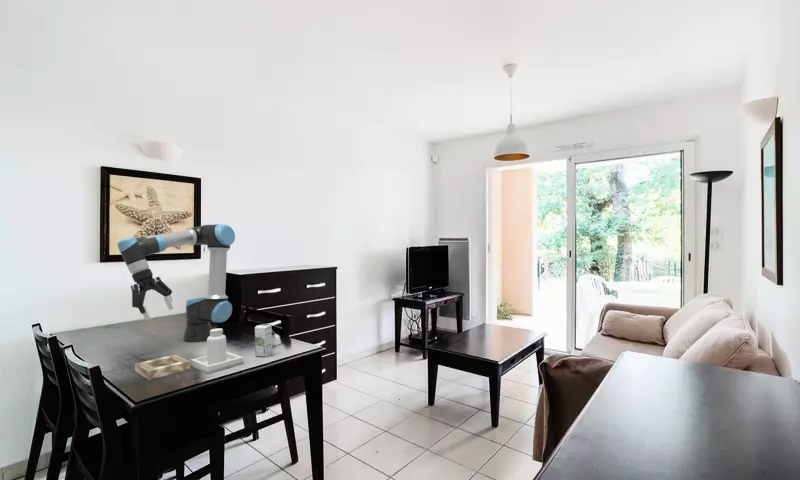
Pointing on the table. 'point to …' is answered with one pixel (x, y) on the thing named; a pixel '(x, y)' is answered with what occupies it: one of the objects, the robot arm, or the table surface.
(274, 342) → the inkwell
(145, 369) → the holder
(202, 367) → the tray
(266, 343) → the syrup box
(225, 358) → the pill bottle
